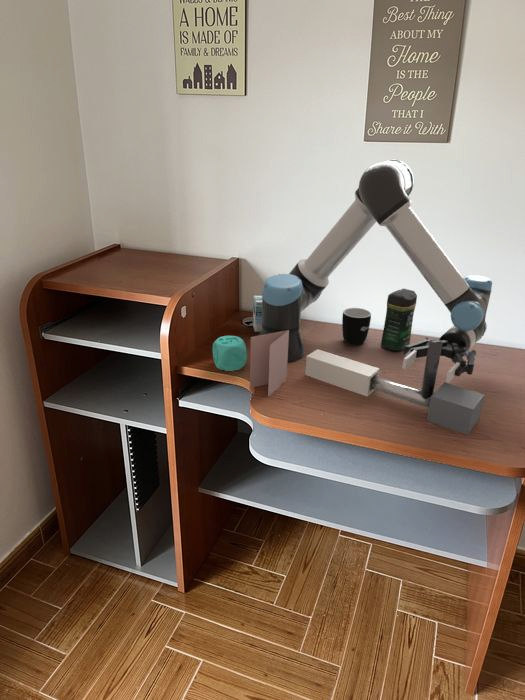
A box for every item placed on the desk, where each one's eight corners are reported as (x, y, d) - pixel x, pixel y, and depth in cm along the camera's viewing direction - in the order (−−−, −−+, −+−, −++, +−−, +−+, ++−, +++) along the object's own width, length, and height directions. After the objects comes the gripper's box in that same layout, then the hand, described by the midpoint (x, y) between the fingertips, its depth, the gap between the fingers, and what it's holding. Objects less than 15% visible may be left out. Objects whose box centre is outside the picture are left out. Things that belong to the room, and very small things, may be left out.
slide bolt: (353, 385, 146) (359, 324, 138) (359, 380, 149) (366, 320, 141) (447, 417, 132) (460, 351, 125) (452, 411, 135) (465, 346, 127)
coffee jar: (399, 354, 168) (408, 297, 160) (377, 347, 172) (384, 291, 165) (413, 344, 175) (421, 290, 167) (391, 338, 179) (398, 284, 172)
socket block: (426, 420, 133) (431, 395, 130) (439, 406, 139) (444, 382, 136) (467, 434, 127) (473, 409, 124) (479, 419, 134) (484, 394, 131)
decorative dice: (246, 369, 156) (247, 344, 152) (220, 373, 153) (220, 348, 150) (238, 358, 162) (238, 333, 159) (212, 361, 160) (212, 337, 156)
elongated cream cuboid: (305, 375, 153) (306, 356, 151) (316, 367, 158) (317, 349, 155) (367, 396, 143) (369, 376, 140) (377, 388, 147) (379, 368, 145)
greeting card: (284, 378, 151) (287, 328, 145) (298, 389, 145) (301, 339, 139) (248, 386, 146) (249, 335, 140) (261, 398, 140) (262, 346, 134)
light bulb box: (254, 332, 181) (255, 301, 177) (252, 324, 187) (252, 295, 183) (285, 331, 183) (287, 301, 178) (282, 323, 189) (283, 294, 184)
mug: (359, 349, 170) (362, 319, 166) (335, 342, 175) (337, 312, 171) (377, 338, 179) (380, 309, 175) (353, 331, 184) (356, 303, 180)
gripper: (497, 366, 141) (470, 399, 124) (414, 343, 153) (380, 370, 136) (503, 339, 137) (477, 370, 121) (418, 318, 150) (383, 343, 133)
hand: (425, 370), depth 129 cm, fingers open, 10 cm apart
